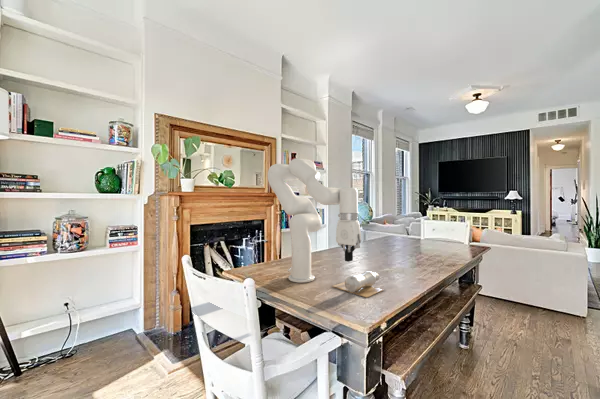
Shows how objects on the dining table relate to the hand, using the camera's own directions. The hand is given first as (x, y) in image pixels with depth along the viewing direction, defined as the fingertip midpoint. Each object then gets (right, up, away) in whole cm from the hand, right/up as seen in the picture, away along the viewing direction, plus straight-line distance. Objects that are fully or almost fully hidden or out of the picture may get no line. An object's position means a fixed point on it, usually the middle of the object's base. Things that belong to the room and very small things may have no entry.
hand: (348, 260), depth 118 cm
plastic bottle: (-1, -9, -3) cm, 10 cm away
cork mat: (+4, -13, +4) cm, 14 cm away
